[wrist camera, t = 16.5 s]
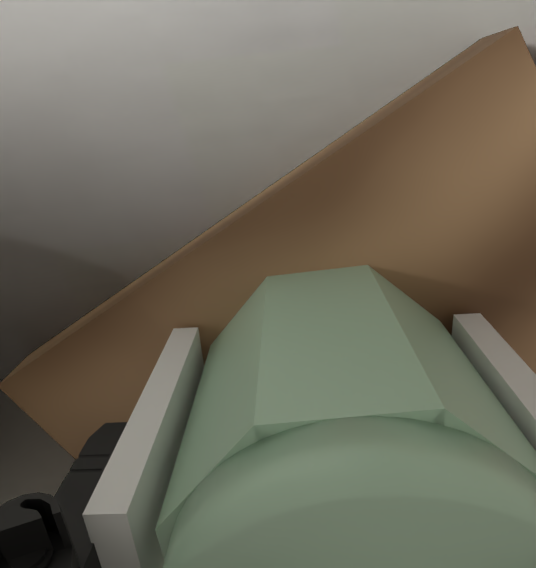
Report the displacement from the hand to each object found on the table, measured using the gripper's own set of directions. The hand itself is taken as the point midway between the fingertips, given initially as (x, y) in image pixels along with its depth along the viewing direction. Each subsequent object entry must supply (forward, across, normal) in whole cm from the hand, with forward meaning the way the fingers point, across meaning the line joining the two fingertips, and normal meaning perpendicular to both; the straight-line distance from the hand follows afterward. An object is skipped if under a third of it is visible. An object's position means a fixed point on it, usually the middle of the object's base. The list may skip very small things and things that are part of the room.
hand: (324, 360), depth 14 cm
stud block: (+2, 0, -1) cm, 2 cm away
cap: (0, 0, -1) cm, 1 cm away
